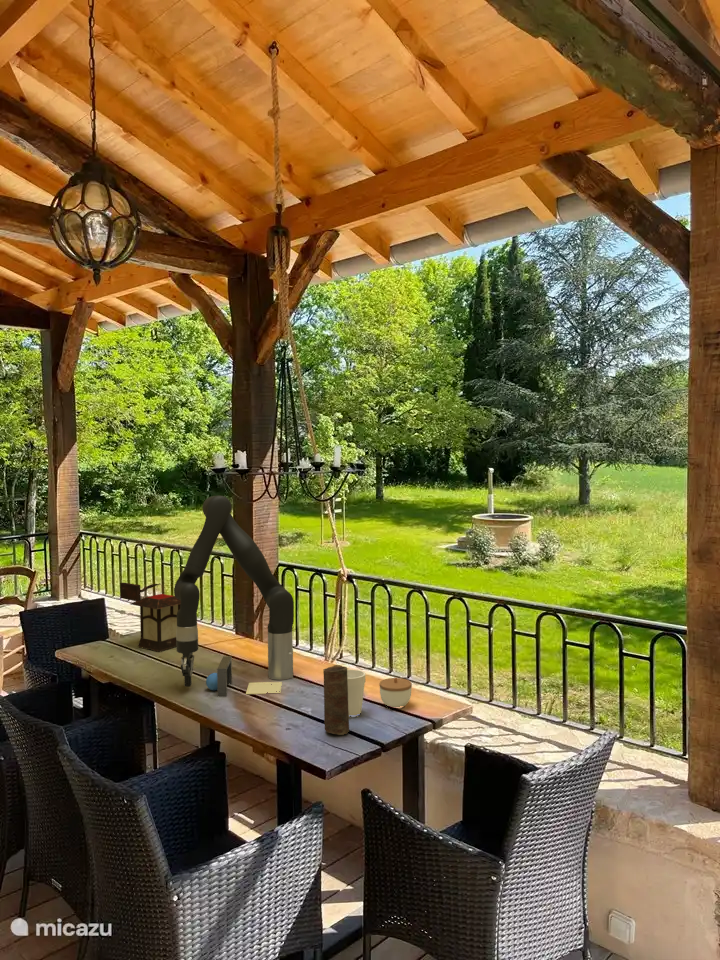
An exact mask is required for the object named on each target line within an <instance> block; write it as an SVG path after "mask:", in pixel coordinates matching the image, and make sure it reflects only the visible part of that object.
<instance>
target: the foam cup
mask: <svg viewBox="0 0 720 960" xmlns="http://www.w3.org/2000/svg"><path fill="white" fill-rule="evenodd" d="M347 681H348V711H349V715H357V714H360V713H361V714H362V709H363V702H364V694H365V693H364V692H365V691H364V690H365V683H366V672H365V671H363V670H359V669H349V668H348V669H347Z"/></svg>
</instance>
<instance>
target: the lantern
mask: <svg viewBox="0 0 720 960" xmlns="http://www.w3.org/2000/svg"><path fill="white" fill-rule="evenodd" d="M158 586H161V589H162V591H164V589H163V585H162V584H161V582H160V583H159V582H158V583H151V584H149V585H147V586H144V587H143V588H142V589H141V584H138V583H137V584H136V583H131V582H120V583H119V587H120V588H119V589H120V593H119V595H120V599H125V600H129V601H133V602H130V605H132V606H138V607H139V615H140V616H139V617H140V619H139V620H140V640H139V641H138V646H139V648H140V647H143V648H142V649H144V648H147V649H146V650H148V649H151V650H150V651H153V650H155V651H154V652H157V651H158V653H161V652H163V651H168V650H171V649H174V647H175V648H177V647H176V630H177V611H178V610H179V609H180V605H181V600H179V599H177V598H176V597H175V595H172V594H171V595H170V594H165V593H164V592H162V593H159V594H158V593H157V592H155V593H154V595H151V596H150V595H149V596H146V597H143V598H141V596H142V595H141V594H142V593H144V592H145V591H147V590H149V589H152V588H154V587H156V589H155V591H157V589H158ZM138 646H137V647H138ZM160 651H161V652H160Z"/></svg>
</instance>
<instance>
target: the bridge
mask: <svg viewBox="0 0 720 960" xmlns="http://www.w3.org/2000/svg"><path fill="white" fill-rule="evenodd" d="M232 657H233V656H232V655H231V656H230V655H224V656H222V658H221V661H220V663H218V666H217V668H216V673H217V688H218V690H217V697H218V696H219V697H227V696H228V685H232V684H233V668H232V667H233V665H232V662H233V661H232V660H233V659H232ZM229 683H230V684H229Z"/></svg>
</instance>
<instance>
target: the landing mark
mask: <svg viewBox="0 0 720 960" xmlns="http://www.w3.org/2000/svg"><path fill="white" fill-rule="evenodd" d="M271 684H272V685H271ZM281 686H283V682H282V681H271V682H270V681H265V682H263V681H262V682H261V681H259V682H256V681H255V682H248V686H247V688H246V692H245V695H267V694H266V693H267V692H268V693H280V694H281V692H282V687H281ZM276 691H277V692H276ZM279 691H280V692H279Z"/></svg>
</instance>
